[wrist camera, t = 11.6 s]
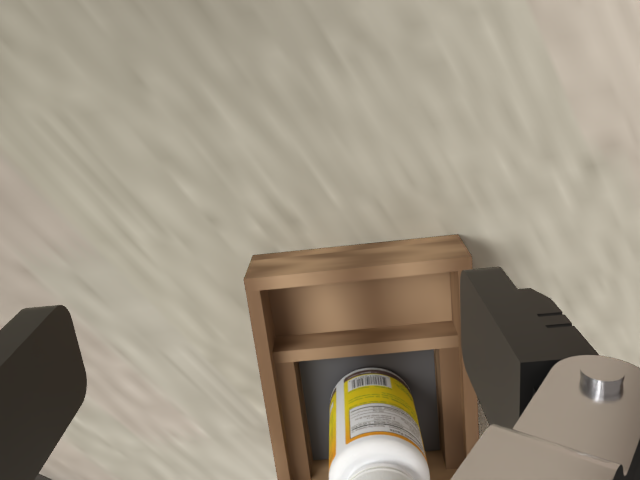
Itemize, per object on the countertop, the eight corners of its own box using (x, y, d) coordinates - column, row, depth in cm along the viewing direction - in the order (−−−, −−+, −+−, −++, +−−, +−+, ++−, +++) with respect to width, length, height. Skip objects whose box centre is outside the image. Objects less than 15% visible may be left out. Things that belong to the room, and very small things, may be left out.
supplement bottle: (369, 448, 41) (379, 575, 31) (312, 398, 40) (304, 513, 30) (430, 400, 40) (460, 517, 30) (373, 347, 38) (386, 450, 29)
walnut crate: (286, 462, 43) (281, 502, 39) (252, 255, 38) (243, 279, 34) (467, 447, 42) (480, 487, 38) (458, 234, 37) (471, 256, 33)
